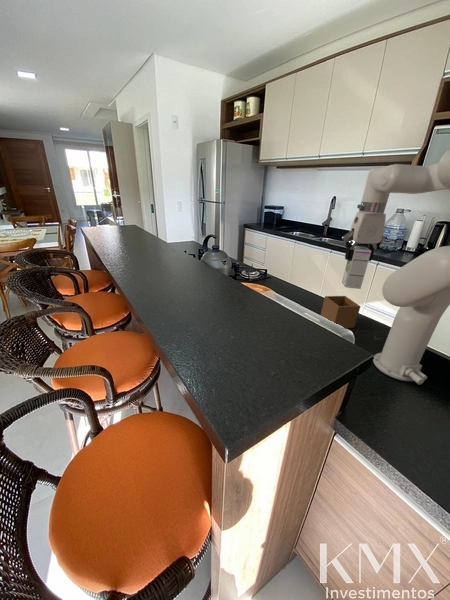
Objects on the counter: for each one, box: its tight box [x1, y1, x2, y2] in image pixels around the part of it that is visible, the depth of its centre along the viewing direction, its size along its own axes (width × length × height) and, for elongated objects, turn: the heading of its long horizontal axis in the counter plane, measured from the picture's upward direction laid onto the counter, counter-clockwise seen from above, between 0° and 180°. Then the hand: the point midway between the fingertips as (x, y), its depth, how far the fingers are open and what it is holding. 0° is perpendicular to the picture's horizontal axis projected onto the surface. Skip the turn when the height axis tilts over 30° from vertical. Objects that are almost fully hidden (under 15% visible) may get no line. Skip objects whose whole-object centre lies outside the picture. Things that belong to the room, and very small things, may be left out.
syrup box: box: [341, 245, 371, 290], centre depth 92 cm, size 6×6×14 cm
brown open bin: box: [320, 295, 361, 329], centre depth 101 cm, size 10×9×10 cm
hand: (357, 259), depth 91 cm, fingers closed on syrup box, 7 cm apart
